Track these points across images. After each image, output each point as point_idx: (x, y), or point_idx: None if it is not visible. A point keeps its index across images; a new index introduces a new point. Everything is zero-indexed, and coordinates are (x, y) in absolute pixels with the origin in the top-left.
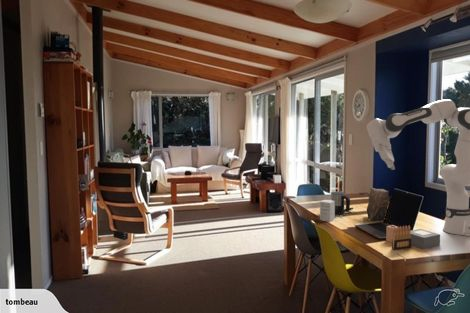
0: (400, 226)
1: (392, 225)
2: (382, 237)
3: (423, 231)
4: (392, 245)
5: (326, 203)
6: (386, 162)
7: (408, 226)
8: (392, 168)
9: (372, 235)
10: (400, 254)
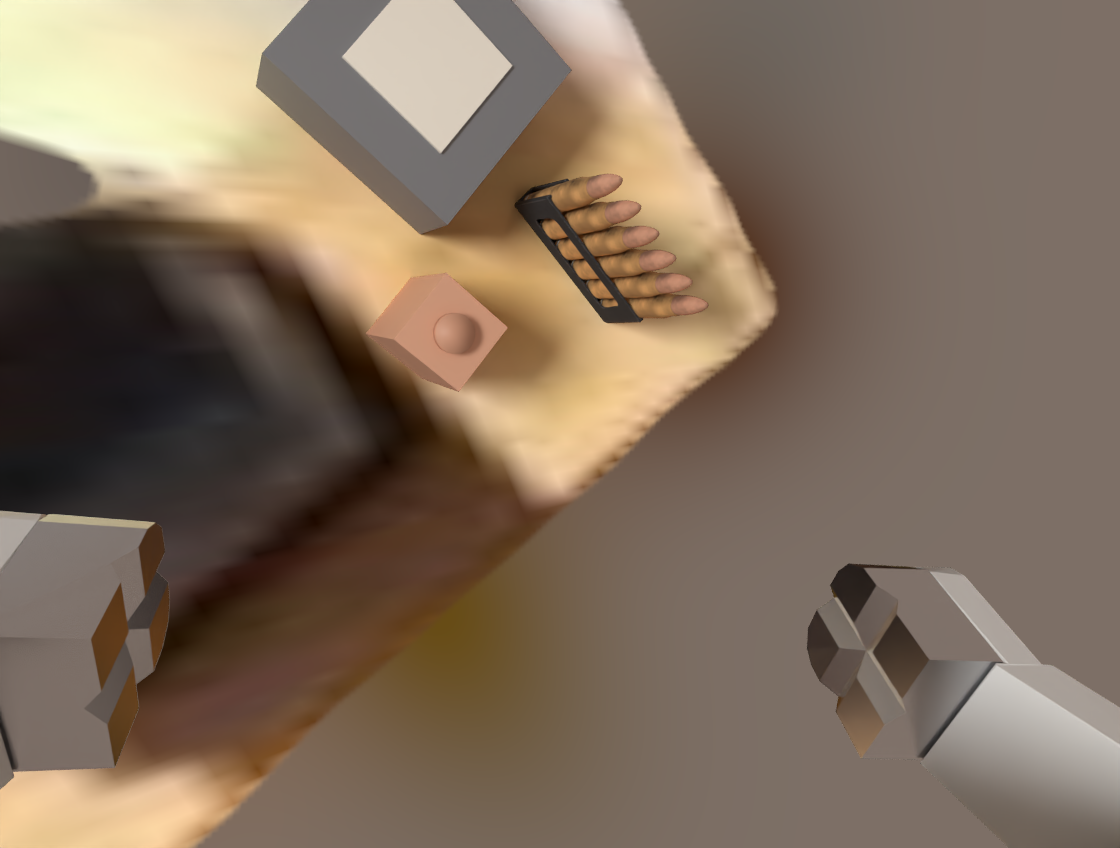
0: (674, 259)
1: (449, 338)
2: (342, 417)
3: (381, 40)
4: (615, 318)
5: None
6: (1104, 840)
7: (616, 188)
8: (144, 610)
9: (316, 505)
10: (685, 263)
